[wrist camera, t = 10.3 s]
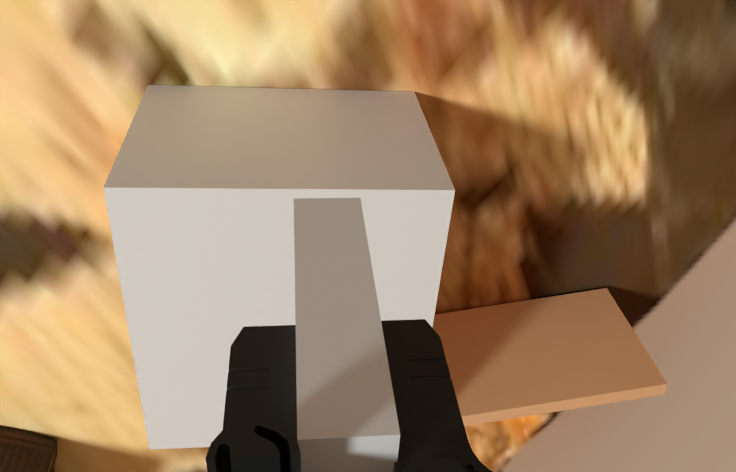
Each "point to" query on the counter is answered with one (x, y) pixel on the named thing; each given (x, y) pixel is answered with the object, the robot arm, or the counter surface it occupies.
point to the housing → (258, 225)
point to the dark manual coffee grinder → (26, 451)
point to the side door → (544, 357)
